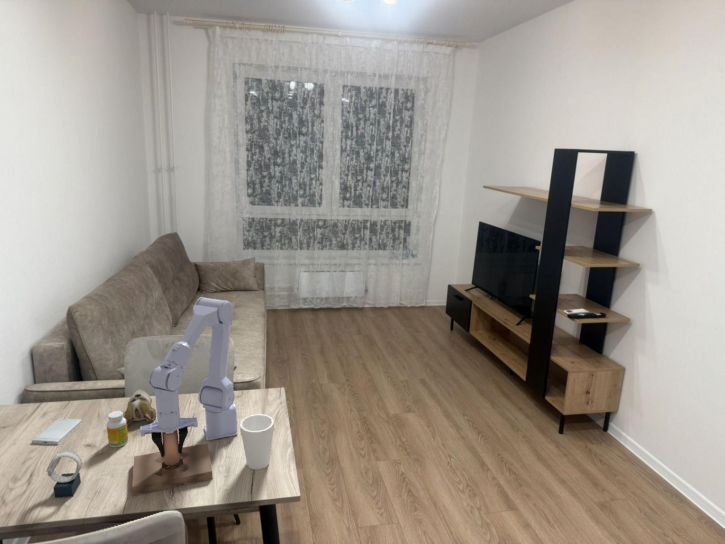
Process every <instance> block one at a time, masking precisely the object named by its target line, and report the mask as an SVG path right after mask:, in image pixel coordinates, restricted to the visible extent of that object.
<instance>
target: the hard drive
mask: <svg viewBox="0 0 725 544" xmlns="http://www.w3.org/2000/svg"><path fill="white" fill-rule="evenodd" d="M82 423H83V419H80V418H59V417H58V418H57V419H56V420H55V421H53V422H52V423H51V424H50V425H49V426H47V427H46V428H45V429H44V430H43V431H41V432H40V433H39V434H38V435H37V436H36V437H34V438H33V439H32V440H31V444H41V445H42V444H43V445H57V446H58V445H59V444H61V443H62V442H63V441H64V440H65V439H66V438H67V437H69V435H70V434H72V433H73V432H74V431H75V430H76V429H77V428H78V427H79V426H81V424H82Z"/></svg>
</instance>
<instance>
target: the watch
mask: <svg viewBox="0 0 725 544" xmlns="http://www.w3.org/2000/svg"><path fill="white" fill-rule="evenodd" d="M62 458H68V459H70V460H73V461H74V462H75V463H76V469H75V471H74V472H70V473H69V472H68V473H61V475H60V474H59V473H57V472H56V471H55V469H56V467H57V466H58V464H59V463H60V461H61V459H62ZM82 467H83V461H82V458H81V456H80V455H79V454H78V453H76V452H74V451H71V450H61V451H60V452H56V453H55V455H54V456H53V457H52V459H51V461H50V462H49V464H48V466H47V468H46V471H45V472H47V476H48V477H49V478H50V479H51V480H52V481H54V482H56V483H55V484H54V486H53V494H54V495H53V496H54V499H59V498H71V497H74V495H75V494H76V492H77V490H78V488H79V487H80V485H81V483H82V482H81V473H80V471H81V469H82Z"/></svg>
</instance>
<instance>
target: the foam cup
mask: <svg viewBox="0 0 725 544" xmlns="http://www.w3.org/2000/svg"><path fill="white" fill-rule="evenodd" d="M239 427H240V428H239V432H240V436H241V439H242V440H241V441H242V445H243V450H244V454H245V455H244V456H245V459H246V464H247V465H246V466H247V467H248V468H249V469H250V470H253V471H256V470H263V469H265V468H266V467H268V466H269V464H270V460H271V453H272V444H273V438H274V437H273V436H274V431H275V421H274V418H273V417H271V416H270V415H267V414H264V413H254V414H252V415H247V416H246V417H244V418H243V419H241V421H240V422H239Z"/></svg>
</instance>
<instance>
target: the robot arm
mask: <svg viewBox="0 0 725 544" xmlns="http://www.w3.org/2000/svg"><path fill="white" fill-rule="evenodd" d="M233 315H234V306H233V304H232V303H231V302H230V301H229V300H226V299H225V300H223V299H218V298H209V297H208V298H207V297H205V296H201V297H199V298H197V300H196V301H195V304H194V305H193V307H192V318H191V320H190V322H189V324H188V326H187V327H186V330H185V332H184V333H183V335H182V337H181V339H180V341H178V342H175V343H174V344H173V345H172V347H171V348H170V350H169V351H168V353H167V354H166V356H165V358H164V360H163V361H162V363H161V365H158V366H157V367H155V368H153V370H152V371H151V373H150V376H149V379H148V384H149V386H150V387H151V388H152V393H154V394H155V408H156V419H157V420H156V421H154V422H151V423H149V424H145V425H143V426H142V425H140V428H139V432H140V437H145V436H146V435H150V434H151V440H152V442H153V443H154V444H155V446H156V447H157V449H158V452H160V454H161V457H164V450H163V438H162V432H165V433H166V434H169V433H173V432H174V431H175V430H178V442H179V454H181V453H182V448H183V447H184V443H185V441H186V438H187V436H188V435H189V428H190V427H193V428H198V427H199V425H198V417H181V414H180V400H179V399H180V398H179V387H180V386H181V384H182V382H183V376H184V373H185V370H184V369H185V367H187V364H188V363H189V361H190V360H191V358H192V356H193V355H194V352H193V346H194V345H195V344H196V342H197V341H198V339H199V338H200V337H201V336H202V334H203V332H204V331H205V330H206V328H207V327H209V326H211V328H212V329H211V341H210V343H211V344H210V355H209V365H208V366H209V367H208V377H206V378H205V379H204V380H202V381H201V384H200V389H199V391H198V396H197V397H198V398H197V399H198V402H199V403H200V404H201V405H202V408H203V409H204V411H205V415H204V416H205V426H204V435H205V440H206V441H211V440H216V439H222V438H228V437H233V436H238V418H237V417H238V416H237V415H238V414H237V407H236V403H235V402H234V401H235V398H236V397H235V391H234V383H233V382H232V381H231V380H230V379H229V378H228V377H227V373H228V372H227V371H228V359H229V358H228V357H229V344H230V333H231V326H232V325H233V318H234V317H233Z"/></svg>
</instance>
